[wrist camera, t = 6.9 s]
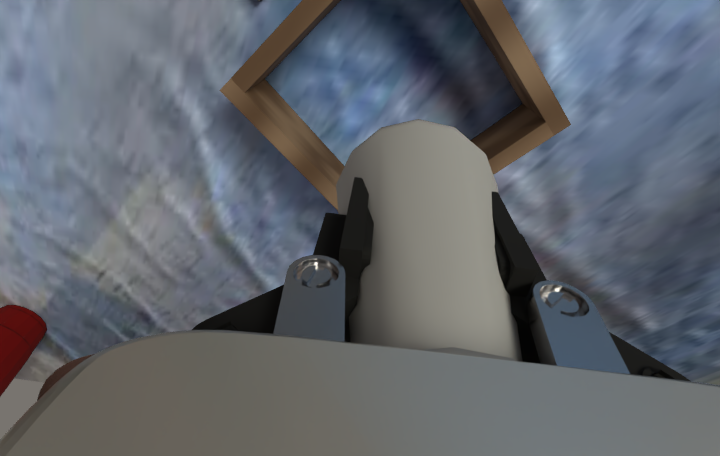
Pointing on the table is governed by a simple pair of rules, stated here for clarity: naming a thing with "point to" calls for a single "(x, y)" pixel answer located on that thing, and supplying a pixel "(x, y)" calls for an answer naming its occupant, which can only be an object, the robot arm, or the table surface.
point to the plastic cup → (17, 340)
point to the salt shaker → (429, 245)
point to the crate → (321, 165)
